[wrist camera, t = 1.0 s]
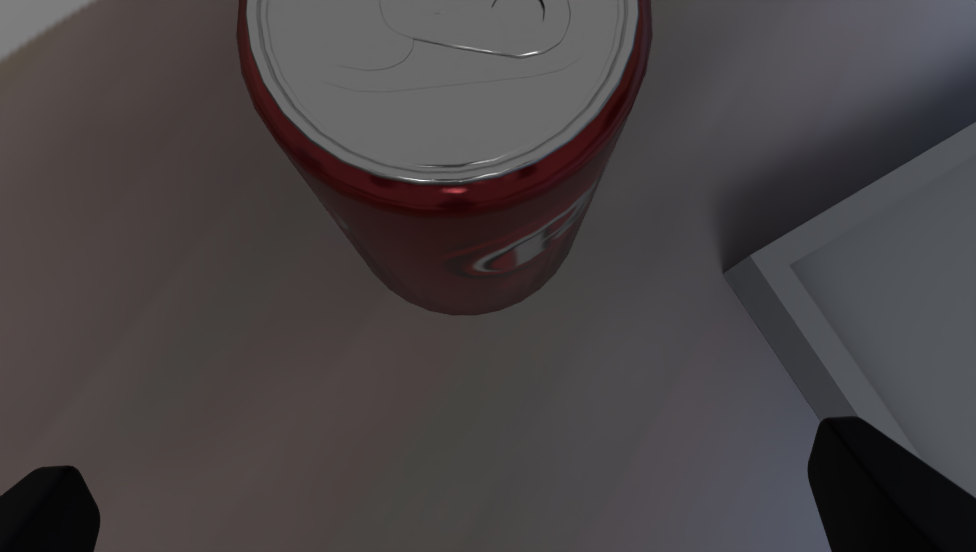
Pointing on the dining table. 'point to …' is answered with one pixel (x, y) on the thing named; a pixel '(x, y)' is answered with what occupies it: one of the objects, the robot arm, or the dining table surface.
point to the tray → (884, 306)
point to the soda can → (449, 128)
